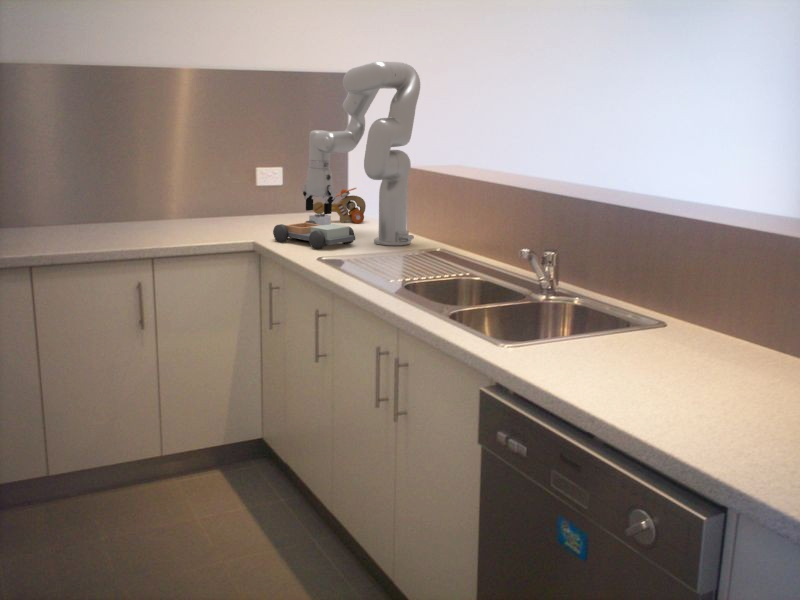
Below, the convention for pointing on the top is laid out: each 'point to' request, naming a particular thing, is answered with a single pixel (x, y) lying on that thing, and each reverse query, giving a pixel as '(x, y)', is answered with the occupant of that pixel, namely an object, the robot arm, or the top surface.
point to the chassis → (315, 233)
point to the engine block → (321, 219)
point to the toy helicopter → (341, 209)
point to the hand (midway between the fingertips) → (318, 212)
